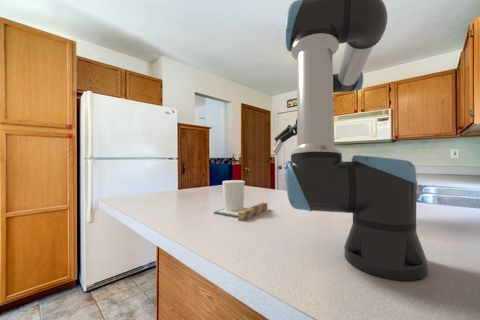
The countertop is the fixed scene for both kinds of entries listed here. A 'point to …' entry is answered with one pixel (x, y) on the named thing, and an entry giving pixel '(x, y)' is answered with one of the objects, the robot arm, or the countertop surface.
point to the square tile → (228, 212)
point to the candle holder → (233, 194)
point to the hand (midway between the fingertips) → (289, 152)
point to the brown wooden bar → (252, 211)
